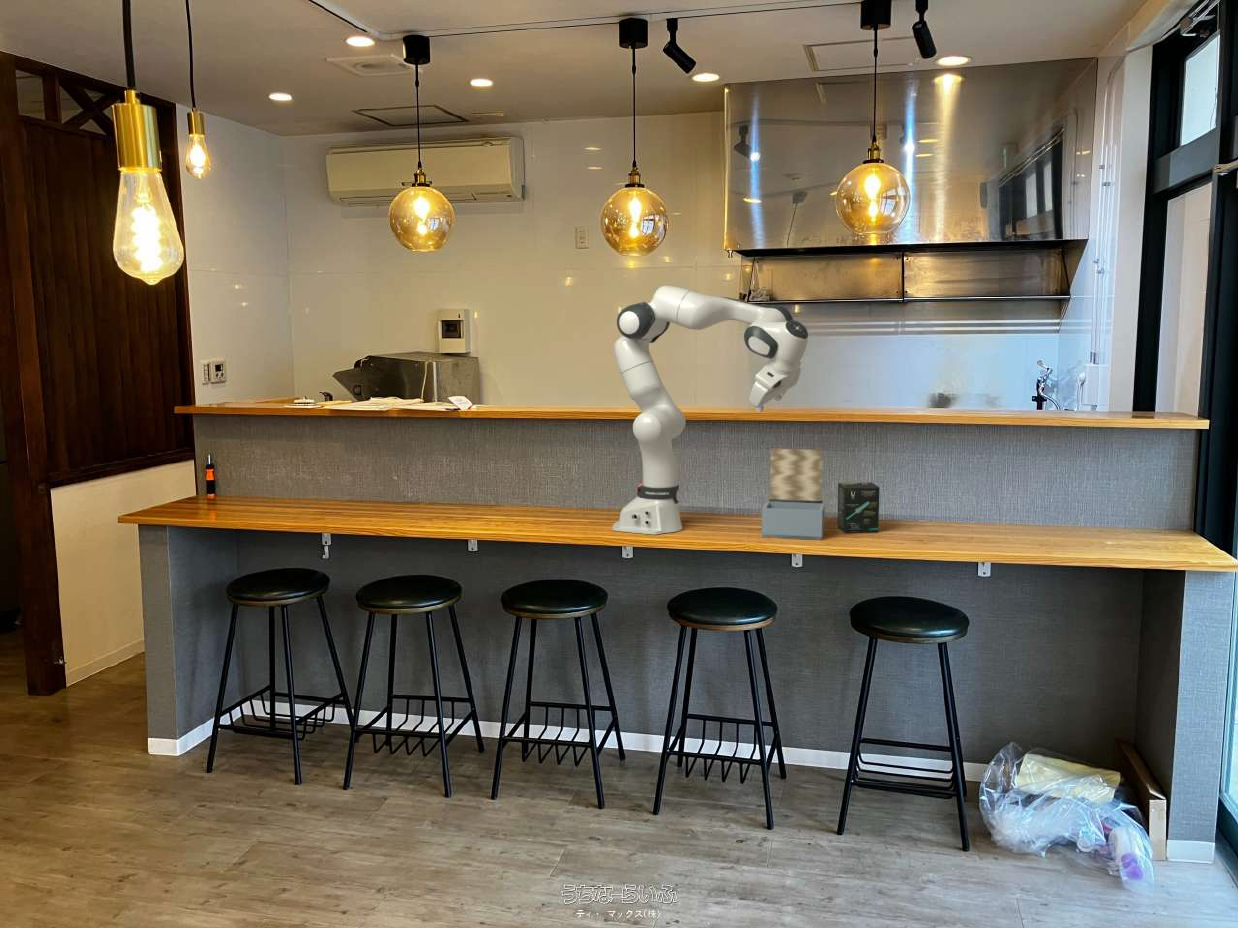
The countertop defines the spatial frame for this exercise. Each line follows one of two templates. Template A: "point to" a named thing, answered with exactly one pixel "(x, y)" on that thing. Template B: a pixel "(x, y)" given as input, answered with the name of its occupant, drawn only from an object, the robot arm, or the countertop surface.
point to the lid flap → (796, 475)
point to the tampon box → (858, 507)
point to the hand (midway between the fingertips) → (768, 405)
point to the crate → (793, 520)
